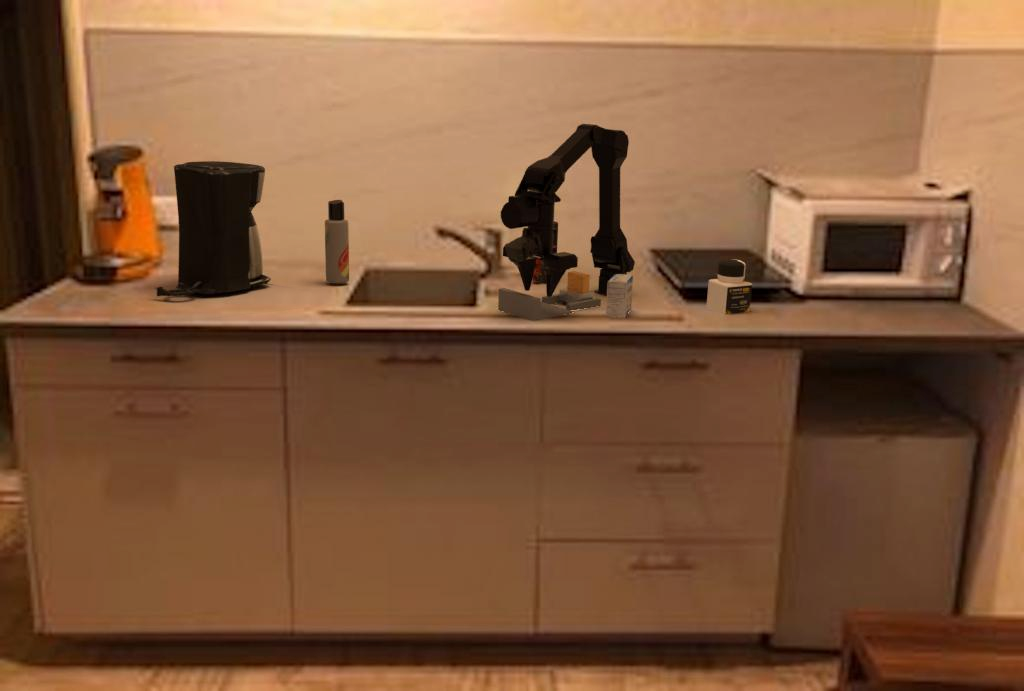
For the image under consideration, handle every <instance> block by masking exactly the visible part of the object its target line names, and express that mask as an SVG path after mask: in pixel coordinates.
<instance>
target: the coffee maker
mask: <svg viewBox="0 0 1024 691" xmlns="http://www.w3.org/2000/svg"><path fill="white" fill-rule="evenodd" d="M173 170H174V172H173V173H174V182H175V183H174V184H175V192H176V194H175V195H176V205H177V215H178V216H177V217H178V272H177V273H178V279H177V280H178V281H177V286H176V287H175V288H174V289H169V290H167V289H165V288H164V286H157V287H154V289H156V296H157V297H181V296H186V295H192V294H193V295H194V294H201V295H214V294H222V293H223V294H224V293H232V292H238V291H243V290H249V289H251V288H252V287H255V286H260V285H263V284H264V285H265V284H268V283H269V282H270V281H271V280H272V278H271V277H269V276H267V275H265V274H263V254H262V253H263V252H262V246H261V241H260V240H261V239H260V233H259V228H258V225H257V222H256V220H255V217H254V215H253V213H252V211H253V209H254V208H256V206H257V205H258V204H259V203H261V200H262V196H263V190H264V182H265V175H266V168H265V167H264V166H263V165H262V166H261V165H259V164H252V163H244V162H243V163H242V162H235V161H234V162H233V161H218V160H217V161H216V160H215V161H213V160H211V161H209V160H208V161H202V160H201V161H188V162H184V163H180V164H175V165H173Z"/></svg>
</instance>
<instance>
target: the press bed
mask: <svg viewBox="0 0 1024 691" xmlns="http://www.w3.org/2000/svg"><path fill="white" fill-rule="evenodd" d="M497 299H498V304H497V310H500V311H499V312H501V311H504V312H507V313H506V314H508V313H510V314H509V315H511V314H513V316H516V317H519V318H523V319H526V320H530V321H534V322H536V321H542V320H546V319H551V318H552V319H553V318H558V317H563V316H565V315H564V314H569V313H572V312H574V313H575V311H571V310H577V309H584V308H591V307H596V306H601V307H602V298H600V297H593V299H589V300H583V301H578V302H573V303H569V302H566V301H562V300H559V293H556V294H553V295H552V296H551V297H547V295H546V296H541V298H540V297H537V296H533V295H530V294H527V293H524V292H523V293H522V292H520V291H515V290H513V289H509V288H506V287H501V288H498V298H497ZM562 302H565V303H566V304H565V307H560V306H557V305H556V304H555V303H560V304H563V303H562ZM551 304H554V305H551ZM596 308H597V307H596ZM591 309H592V308H591ZM504 312H503V313H504ZM562 315H563V316H562ZM569 315H570V314H569Z"/></svg>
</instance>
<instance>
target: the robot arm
mask: <svg viewBox="0 0 1024 691" xmlns="http://www.w3.org/2000/svg"><path fill="white" fill-rule="evenodd" d="M629 143H630V142H629V136H628V134H626V132H625V131H624V130H621V129H612V128H611V129H609V128H604V127H602V126H599V125H598V124H590V123H581V124H579V125H578V126H577V127H576V129H575V131H574V132H573V133H572V134H571V135H570V136H568V138H567V139H565V141H564V142H562V143H561V144H560V146H558V148H556V150H555V151H553V153H551V154H550V155H549V156H547V157H545V158H542V159H538V160H536V161H535V162H533V163H531V164H530V165H529V166H528V167H527V168H526V169H525V171H524V174H523V176H522V179H521V180H520V182H519V184H518V187H517V188H516V191H515V193H514V195H509V196H508V199H507V200H508V201H507V202H505V204H504V205H503V206H502V208H501V210H500V220H501V222H502V224H503V225H504V226H505V227H506V228H507V229H510V230H513V229H519V228H523V229H522V234H521V236H519V237H517V238H515V239H513V240H511V241H510V242H508V243H506V244H504V246H503V247H502V257H505V258H508V260H509V262H512V263H513V265H515V266H516V267H517V269H518V271H519V275H520V278H521V281H522V284H523V288H524V291H527V292H528V291H530V289H531V287H532V283H533V273H534V268H535V264H536V259H539V260H543V261H546V264H547V266H548V267H544V268H542V269H543V270H544V271H545V273H546V285H545V286H546V289H545V291H546V296H547V297H551V296H552V295H554V293H555V291H556V289H557V287H558V285H559V283H560V281H561V279H562V278H563V276H564V275H565V273H566V272H567V271H568V270H570V269H575V268H578V266H579V265H578V263H579V262H578V260H579V258H578V256H577V255H576V254H575V253H570V252H567V251H561V252H558V246H557V247H553V234H557V231H558V232H559V228H558V229H556V228H554V221H555V204H556V203H560V202H561V200H562V199H561V198H560V196H559V195H557V192H558V190H559V189H560V187H561V186H562V185H563V184H564V182H565V180H566V173H567V172H568V171H569V170H570V168H571V167H573V165H574V164H575V163H576V162H578V160H580V158H581V157H583V155H584V154H586V153H587V151H588V150H589V149H591V156H592V159H593V160H594V162H595V164H596V166H597V167H598V203H599V204H598V206H599V208H598V214H599V215H598V219H599V221H598V224H599V225H598V227H599V228H598V230H597V231H596V233H595V235H592V236H591V238H590V251H589V252H590V254H591V257H592V263H593V267H594V268H595V269H597V268H598V269H599V275H598V285H597V286H598V287H597V288H598V289H596V290H593V293H596V294H598V295H604V296H606V297H607V284H608V281H609V280H610V279H611V278H612V277H613V276H614V275H615V274H625V275H628V274H627V273H631V272H632V271H633V270H634V267H635V265H636V261H635V259H634V257H632V255H631V253H630V252H629V249H628V241H627V237H626V236H625V234H624V232H623V230H622V228H621V167H622V165H623V163H624V162H625V160H626V159H627V157H628V151H629ZM552 252H557V253H553V254H552ZM543 256H544V257H543Z"/></svg>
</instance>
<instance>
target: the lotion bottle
mask: <svg viewBox="0 0 1024 691" xmlns="http://www.w3.org/2000/svg"><path fill="white" fill-rule="evenodd" d="M327 204H328V206H327V208H328V212H327V214H328V219H325V221H324V246H325V247H324V248H325V251H324V252H325V253H324V254H325V280H326V281H325V282H326V283H330V284H344V283H348V282H349V281H350V246H349V245H350V244H349V240H350V239H349V238H350V237H349V220H348V219H345V202H343V200H342V199H333V200H329V201H328V202H327Z"/></svg>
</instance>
